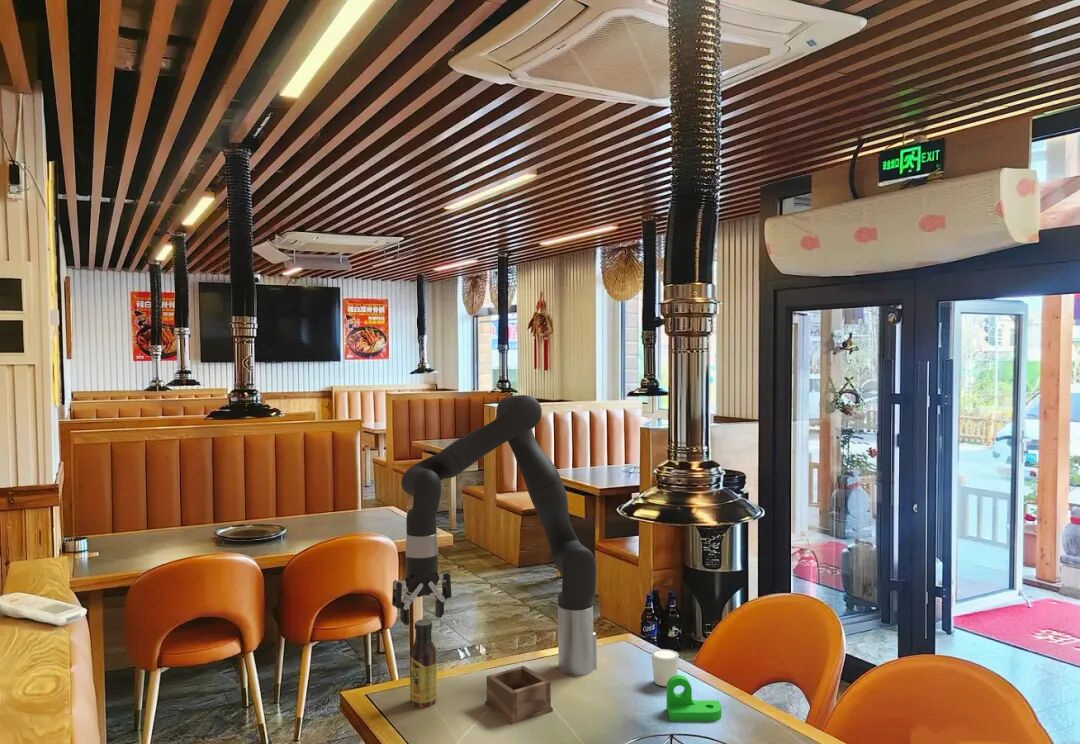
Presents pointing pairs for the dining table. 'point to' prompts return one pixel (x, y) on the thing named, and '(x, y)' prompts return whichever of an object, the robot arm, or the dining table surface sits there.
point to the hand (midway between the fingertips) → (422, 620)
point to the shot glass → (664, 665)
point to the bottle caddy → (518, 694)
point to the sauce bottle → (423, 667)
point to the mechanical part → (689, 703)
